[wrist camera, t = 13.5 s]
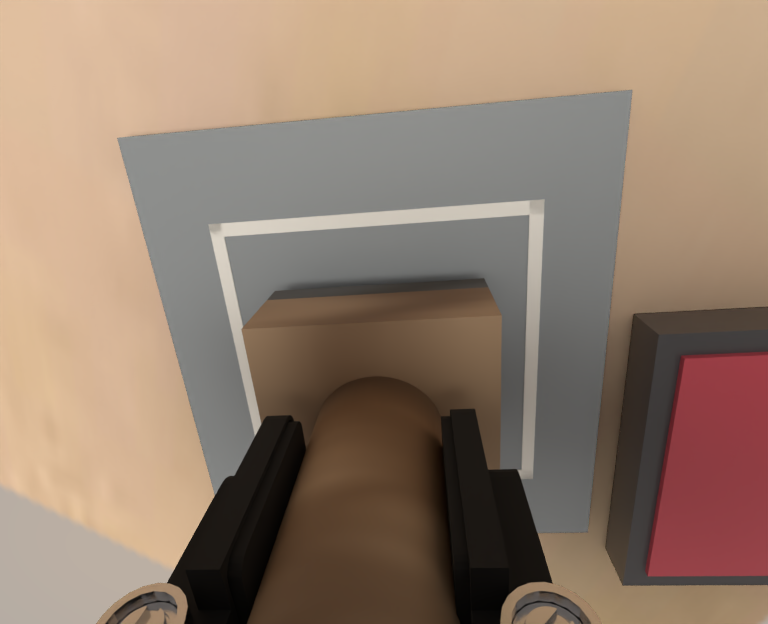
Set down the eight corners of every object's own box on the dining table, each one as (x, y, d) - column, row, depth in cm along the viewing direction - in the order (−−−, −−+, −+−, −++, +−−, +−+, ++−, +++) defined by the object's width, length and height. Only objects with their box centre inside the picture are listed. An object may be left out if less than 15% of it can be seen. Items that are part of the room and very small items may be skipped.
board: (622, 91, 12) (633, 89, 12) (582, 519, 18) (588, 533, 17) (129, 137, 14) (116, 138, 13) (231, 525, 19) (225, 538, 18)
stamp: (484, 278, 13) (733, 801, 3) (484, 454, 15) (627, 1106, 5) (275, 291, 13) (-148, 768, 3) (304, 458, 16) (103, 1057, 5)
